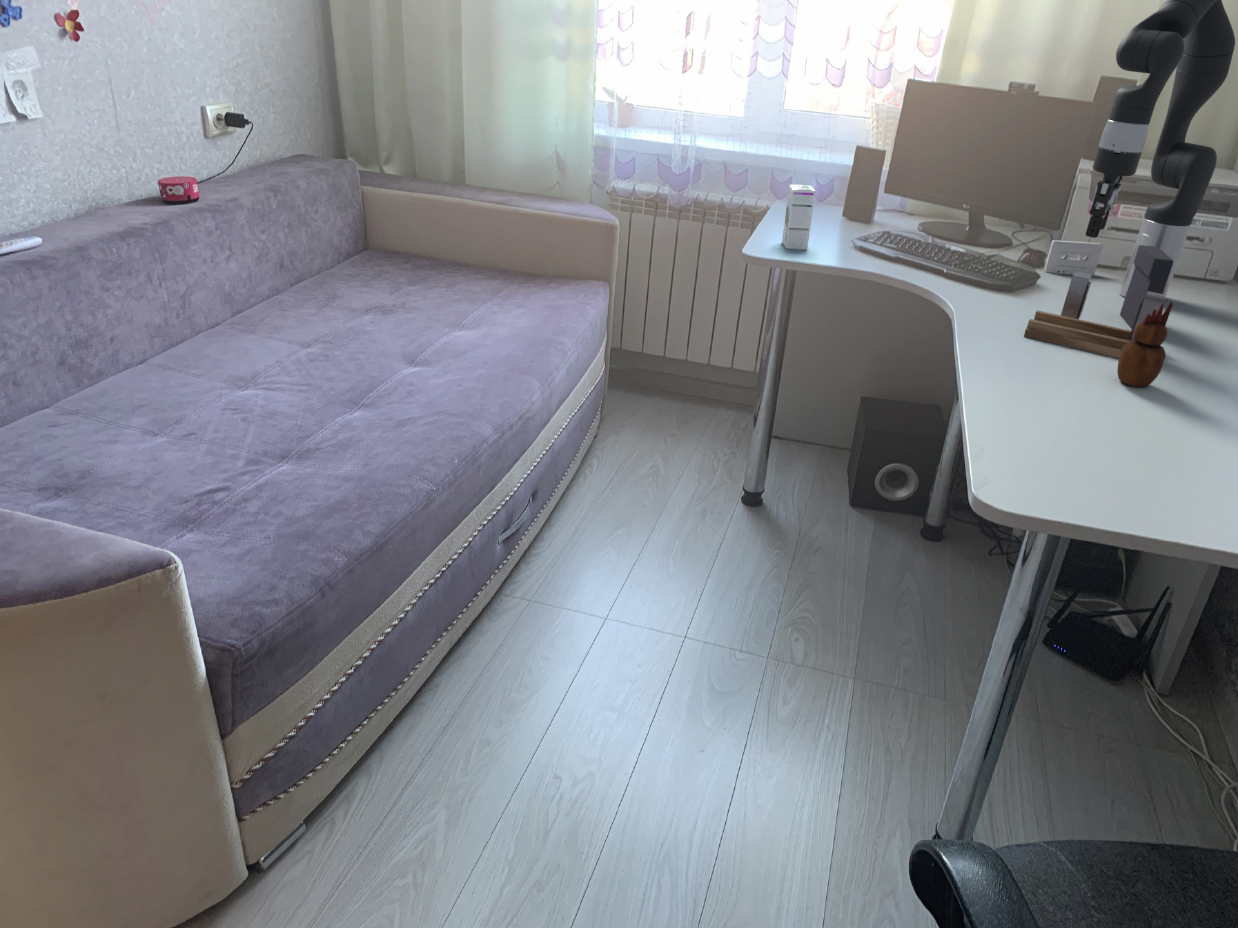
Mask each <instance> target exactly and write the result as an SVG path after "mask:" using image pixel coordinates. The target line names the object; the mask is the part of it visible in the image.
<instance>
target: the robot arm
mask: <svg viewBox="0 0 1238 928" xmlns="http://www.w3.org/2000/svg"><path fill="white" fill-rule="evenodd" d="M1235 47H1236V37H1235V32H1234V30H1233V27H1232V23H1231V21H1230V19H1229V17H1228V14H1227V11H1226V9H1225V7H1224V4H1223V1H1222V0H1165V1H1164V2H1163V3H1162V5H1160V7H1159V9H1157V11H1155V12H1153V13H1152V14H1150V15H1148V16H1147V17H1146V18H1144V19H1143V20H1141V21H1140V22H1139V23H1137V24H1135V26H1133V27H1132V28H1131V29H1129V31H1127V32H1126V34H1125V35H1124V36H1123V37H1122V39H1121V41H1120V42H1119V44H1118V46H1117V48H1116V52H1115V60H1116V61H1115V62H1116V64H1117V66H1118V67H1119V68H1120V69H1121V70H1124V71H1126V72H1132V73H1133V72H1134V73H1141V74H1149V75H1148V77H1147V78H1146V80H1145V81H1144V82H1142V83H1141V84H1138V85H1129V86H1122V87H1120V88H1118V90H1116V92H1115V95H1114V97H1113V102H1112V105H1111V109H1110V112H1109V115H1108V119H1107V121H1106V125H1105V126H1104V129H1103V131H1102V134H1101V136H1100V137H1101V138H1100V140H1099V143H1098V147H1097V151H1096V155H1095V158H1094V160H1093V165H1092V170H1093V171H1094V172H1097V173H1101V174H1103V178H1102V179H1101V180H1099V181H1097V184H1096V186H1095V193H1094V196H1093V198H1092V202H1091V207H1090V210H1089V216H1090V218H1089V221H1088V225H1087V228H1086V230H1085V237H1090V238H1094V239H1095V238H1098V237H1099V235H1100V232H1101V231H1102V230H1104V229H1105V228H1106V225H1107V222H1108V218H1109V214H1110V213H1111V211H1112V209H1113V206H1114V205H1115V204H1116V202H1117V199H1118V195H1119V194H1120V191H1121V189H1122V183H1121V182H1122V180H1123V177H1132V176H1134V175H1135V174H1136V172H1137V169H1138V166H1139V164H1140V160H1141V157H1142V153H1143V150H1144V146H1145V145H1146V140H1147V137H1148V131H1149V127H1150V123H1151V119H1152V117H1153V113H1154V111H1155V106H1156V104H1157V101H1158V100H1159V97H1160V96H1161V94H1162V92H1163V90H1164V88H1165V86H1166V84H1167V83H1168V81H1169V80H1170V78H1171V76H1172V75H1173V73H1174V71H1175V75H1174V81H1173V86H1172V91H1171V94H1170V99H1169V103H1168V107H1167V110H1166V111H1167V112H1166V116H1165V119H1164V122H1163V126H1162V129H1161V132H1160V135H1159V137H1158V143H1157V145H1156V148H1155V152H1154V154H1153V159H1152V163H1151V168H1150V176H1151V177H1150V178H1151V180H1152V182H1153V183H1155V184H1157V185H1159V186H1163V187H1167V188H1171V189H1176V190H1177V192H1176V194H1175V196H1174V197H1173V199H1171V200H1167V201H1161V202H1154V203H1150V204H1149V205H1148V206H1147V208H1146V210H1145V213H1144V216H1143V219H1142V222H1141V226H1140V228H1139V232H1138V235H1137V238H1136V242H1135V244H1134V248H1133V251H1132V253H1131V257H1130V260H1129V262H1128V266H1127V269H1126V271H1125V275H1124V278H1123V281H1122V284H1121V287H1120V290H1119V295H1120V296H1122V297H1124V298H1125V297H1126V294H1127V291H1128V288H1129V285H1130V281H1131V278H1132V275H1133V272H1134V269H1135V265H1134V260H1135V256H1136V253H1137V250H1138V247H1139V245H1144V246H1153V247H1158V248H1159V249H1161V250H1162V251H1163V252H1164V253H1165V254H1166V255H1168V256H1169V257H1170V258H1171V259H1172V260H1173V262H1174V265H1173V268H1172V271H1171V274H1170V277H1169V280H1167V282H1168V286H1167V289H1166V291H1165V294H1164V295H1165V298H1164V301H1163V303H1165V301H1166V296H1167V294H1168V292H1169V288H1170V286H1171V284H1172V281H1173V278H1174V275H1175V272H1176V269H1177V265H1178V263H1179V260H1180V258H1181V255H1182V252H1183V249H1184V246H1185V243H1186V241H1187V237H1188V235H1189V232H1190V228H1191V226H1192V223H1193V220H1194V218H1195V216H1196V214H1197V212H1198V211H1199V209H1200V207H1201V204H1202V202H1203V199H1204V197H1205V195H1206V191H1207V190H1208V187H1209V185H1210V182H1211V180H1212V177H1213V175H1214V172H1215V170H1216V165H1217V160H1218V159H1217V158H1218V155H1217V152H1216V150H1215V149H1214V148H1212V147H1210V146H1207V145H1201V144H1197V143H1191V142H1186V137H1187V133H1188V130H1189V128H1190V124H1191V122H1192V120H1193V118H1194V117H1195V116H1196V114H1197V113H1198V111H1199V110H1200V109H1201V108H1202V107H1203V106H1204V105H1205V104H1206V103H1207V102H1208V101H1209V100H1210V99H1211V97H1212V96H1214V95H1215V93H1217V91H1218V90H1219V89H1220V88H1221V86H1223V84H1224V83H1225V81H1226V79H1227V77H1228V75H1229V70H1230V67H1231V64H1232V60H1233V59H1232V58H1233V55H1234V50H1235Z"/></svg>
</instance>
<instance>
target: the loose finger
mask: <svg viewBox="0 0 1238 928" xmlns="http://www.w3.org/2000/svg"><path fill="white" fill-rule="evenodd" d="M1092 276H1093V275H1092V274H1089V273H1084V272H1078V271H1076V272H1075V273H1074V274H1072V276H1071V279H1070V284H1069V285H1068V288H1067V289H1068V290H1067V292H1066V293H1067V294H1066V296H1065V299H1064V304H1063V307H1062V310H1061V313H1060V315H1061V316H1065V317H1070V318H1075V319H1079V320H1080V319H1081V317H1082V314H1083V311H1084V307H1085V305H1086V301H1087V298H1088V294H1089V292H1090V288H1091V285H1092V281H1091V278H1092Z"/></svg>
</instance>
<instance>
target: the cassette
mask: <svg viewBox="0 0 1238 928" xmlns="http://www.w3.org/2000/svg"><path fill="white" fill-rule="evenodd" d="M1103 247H1104V244H1103V243H1102V242H1101V243H1100V242H1088V241H1087V242H1085V241H1072V240H1071V241H1070V240H1057V239H1056V240H1054V239H1053V240H1051V243H1050V247H1049V251H1048V255H1047V258H1046V262H1045V266H1044V269H1043V272H1045V273H1049V274H1058V275H1059V274H1060V275H1073V274H1074V273H1075V272H1076V271H1078V272H1084V273H1089V274H1092V275H1091V276H1094V275H1095V274H1096V271H1097V267H1098V264H1099V261H1100V257H1101V254H1102V250H1103V249H1104V248H1103ZM1070 255H1078V257H1077V258H1070Z"/></svg>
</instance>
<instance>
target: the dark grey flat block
mask: <svg viewBox="0 0 1238 928" xmlns="http://www.w3.org/2000/svg"><path fill="white" fill-rule="evenodd" d="M1134 265H1135V269H1134V272H1133V275H1132V278H1131V281H1130V285H1129V288H1128V291H1127V294H1126V297H1124V300H1123V304H1122V306H1121V309H1120V312H1119V315H1120V317H1121V318H1122V319H1123V320H1124V321H1125V323H1126V324H1127V325H1128V327H1130V328H1131V329H1132V328H1133V325H1134V322H1135V319H1136V316H1137V313H1138V310H1139V307H1140V304H1141V302H1142V300H1143V299H1145V296H1146V294H1147V292H1148V291H1149V292H1154V293H1159V294H1165V291H1166V289H1167V286H1168V282H1167V280H1169V277H1170V274H1171V271H1172V268H1173V265H1174V262H1173V260H1172V259H1171V258H1170V257H1169V256H1168V255H1166V254H1165V253H1164V252H1163V251H1162V250H1161V249H1159V248H1158V247H1153V246H1144V245H1139V247H1138V250H1137V253H1136V256H1135V260H1134Z"/></svg>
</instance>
